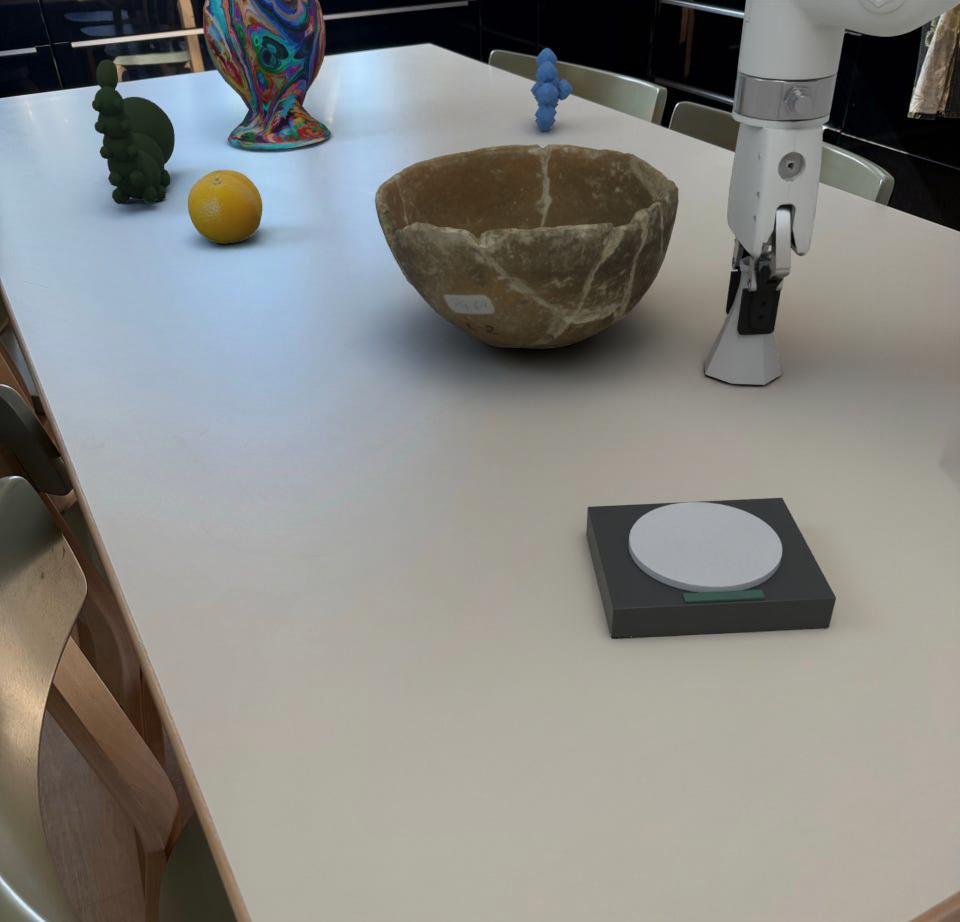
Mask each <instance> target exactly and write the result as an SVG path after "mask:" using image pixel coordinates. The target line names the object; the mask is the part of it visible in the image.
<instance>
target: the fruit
mask: <svg viewBox="0 0 960 922" xmlns="http://www.w3.org/2000/svg"><path fill="white" fill-rule="evenodd" d="M187 209H188V215H189V218H190V221H191V223H192V225H193V226H194V228H195V230H196V231H197V232H198V233H199V234H200V236H203V237H204V238H205V239H207V240H209V241H211V242H214V243H218V244H222V245H223V244H224V245H225V244H236V243H239V242H242V241H244V240H247V239H249V238H250V237H252V236H253V235H254V234H255V233H256V231H257V230H258V229H259V228H260V225H261V220H262V216H263V200H262V196H261V193H260V191H259V189H258V187H257V186H256V185H255V183H254V182H253V181H252V180H251V179H250V178H249V177H247V175H245V174H243V173H241V172H239V171H235V170H229V169H219V170H214V171H211V172H209V173H207V174H205V175H204V176H202V177H201V178H200V179H198V180H197V181H196V182H195V183H194V184H193V186H192V187H191V188H190V191H189V193H188V197H187Z"/></svg>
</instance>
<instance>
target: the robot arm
mask: <svg viewBox="0 0 960 922" xmlns="http://www.w3.org/2000/svg"><path fill="white" fill-rule="evenodd" d="M958 5H960V0H745V5H744V13H743V23H742V30H741V38H740V46H739V55H738V63H737V71H736V79H735V86H734V95H733V101H732V102H733V104H732V111H731V118H732V119H733V121H736V122H738V123H739V128H738V131H737V139H736V144H735V149H734V150H735V151H734V155H733V163H732V168H731V175H730V181H729V188H728V189H729V190H728V197H727V208H726V209H727V211H726V220H727V225H728V227H729V229H730V231H731V232H732V234H733V235H734V247H733V252H732V257H731V270H730V275H729V282H728V291H727V298H726V303H725V304H726V305H725V314H726V316H728V314H729V312H730V309H731V307H732V305H733V303H734V300H735V297H736V294H737V291H738V288H739V285H740V279H741V273H742V272H741V270H740V260H741V259H743V258H745V257H747V256H750V263H749V272H748V282H747V288H743V290H742V297H741V304H740V311H739V318H738V325H737V331H738V333H739V334H740V335H758V334H771V333H773V331H774V332H775V329H776V322H777V317H778V309H779V304H780V297H781V292H782V290H783V287H784V279H785V278H786V277H788V276H789V275H790V273H791V267H792V265H791V263H792V262H791V261H792V259H791V257H792V254H791V253H792V251H793V253H795V254H796V256H798V257H805V256H806V255H807V254H808V253H809V251H810V250H811V249H810V248H811V245H812V239H813V233H814V226H815V225H814V224H815V219H816V218H815V217H816V210H817V203H818V195H819V188H820V187H819V186H820V180H821V170H822V168H821V167H822V159H823V158H822V157H823V139H824V137H823V136H824V135H823V134H824V131H823V130H824V129H823V128H824V126H823V125H824V124H826V123H828V122H829V120H830V114H831V110H832V105H833V99H834V93H835V87H836V83H837V76H838V72H839V71H838V70H839V66H840V61H841V55H842V48H843V43H844V37H845V31H846V30H850V31H853V32H857V33H860V34H863V35H867V36H868V35H869V36H875V37H881V38H883V37H884V38H885V37H887V38H888V37H896V36H901V35H904V34H908V33H911V32H912V31H914V30H916V29H918V28H920V27H922V26H924V25H926V24H928V23H929V22H931V21H932V20H935V19H936V18H937V17H940V16H942V15H944V14H946V13H948V12H949V11H951V10H952V9H955V8H956V7H957V6H958ZM769 248H770V249H771V250H769ZM760 261H770V263H769V264H768V265H767V266H762V268H761V270H760V271H759V264H760Z"/></svg>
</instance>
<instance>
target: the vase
mask: <svg viewBox="0 0 960 922" xmlns="http://www.w3.org/2000/svg"><path fill="white" fill-rule="evenodd" d="M204 1H205V2H204V4H203V8H202V17H203V18H202V20H203V22H202V23H203V24H202V25H203V27H202V28H203V36H204V39H205V45H206V49H207V52H208V54H209V57H210V59H211V62H212V64H213V66H214V68H215V69H216V71H217V72H218V74H219V75H220V77H222V79H223V80H224V82H225V83H226V84H227V85H228V86H229V87H230V88H231V89H232V90H233V91H234V92H235V93H236V94H237V95H239V97H240V98H241V100H242V101H243V103H244V105H245V106H246V108H247V109H248V110H247V111H246V114H245V116H244V118H243V119H242V121H241V122H240V123H239V124H238V125H237V126H236V127H234V128H233V130H231V131H230V133H229V135H228V137H227V140H226V141H227V142H228V143H229V144H231V145H232V146H235V147H239V148H244V149H252V150H283V149H284V150H285V149H292V148H300V147H305V146H309V145H313V144H316V143H319V142H322V141H324V140H326V139H328V138H329V137H330V136H331V135H332V131H331V130H330V129H329V127H327V126H326V125H325V123H323V122H321V121H320V120H318V119H316V118H315V117H313V116H312V115H311V114H310V113H309V112H308V111H307V110H306V108H305V107H304V103H305V100H306V96H307V93H308V91H309V89H310V88H311V86H312V85H313V83H314V82H315V80H316V78H317V77H318V76H319V73H320V70H321V68H322V65H323V63H324V59H325V53H326V46H327V42H326V37H327V36H326V22H325V19H324V15H323V11H322V7H321V3H320V1H319V0H204Z"/></svg>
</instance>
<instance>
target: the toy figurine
mask: <svg viewBox="0 0 960 922" xmlns="http://www.w3.org/2000/svg"><path fill="white" fill-rule="evenodd" d="M95 73H96V75H95V77H96V81H97V84H98V87H99V89H98V90H97V91H96V93H95V95H94V100H92V102H91V106H92V109H93V110H94V111H95V112H98V115H97V121H96V122H95V123H94V130H95V131H96V132H97V133H99V134H101V135H103V137H102V146H100V149H99V155H100V157H101V158H102V159H104V160H107V161H106V163H107V168H108V171H109V175H108V177H107V180H108V182H109V184H110V185H111V186H112V187H116V188H115V189H113V190H112V192H111V198H112V200H113V201H114V202H115V204H118V205H125V204H127V203H129V202H130V200H131V199H134V200H140V201H141V200H143V201H144V202H146V203H148V204H149V203H154V202H156V201H160V202H161V201H163V200H165V199H166V197H167V190H166V188H168V187H169V186H170V185H171V182H172V178H171V175H170V173H169V171H168V170H167V169H165V168H166V167H165V165H166V164H167V163H168V161H170V160H171V157H172V155H173V153H174V150H175V143H176V137H175V129H174V125H173V123H172V120H171V119H170V117H169V115H168V114H167V113H166V112H165V111H164V110H163V109H162V108H161V107H160V106H159V105H158V104H156V102H153V101H151V100H150V99H147V98H145V97H140V96H127V97H124V98H123V96H122V94H121V93H120V92H119V91H118V90H116V88H117V86H118V83H119V73H118V67H117V65H116V63H115V62H114V61H112V60H111V59H104V60H101V61H100V62H99V64H98V65H97V67H96V72H95Z"/></svg>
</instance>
